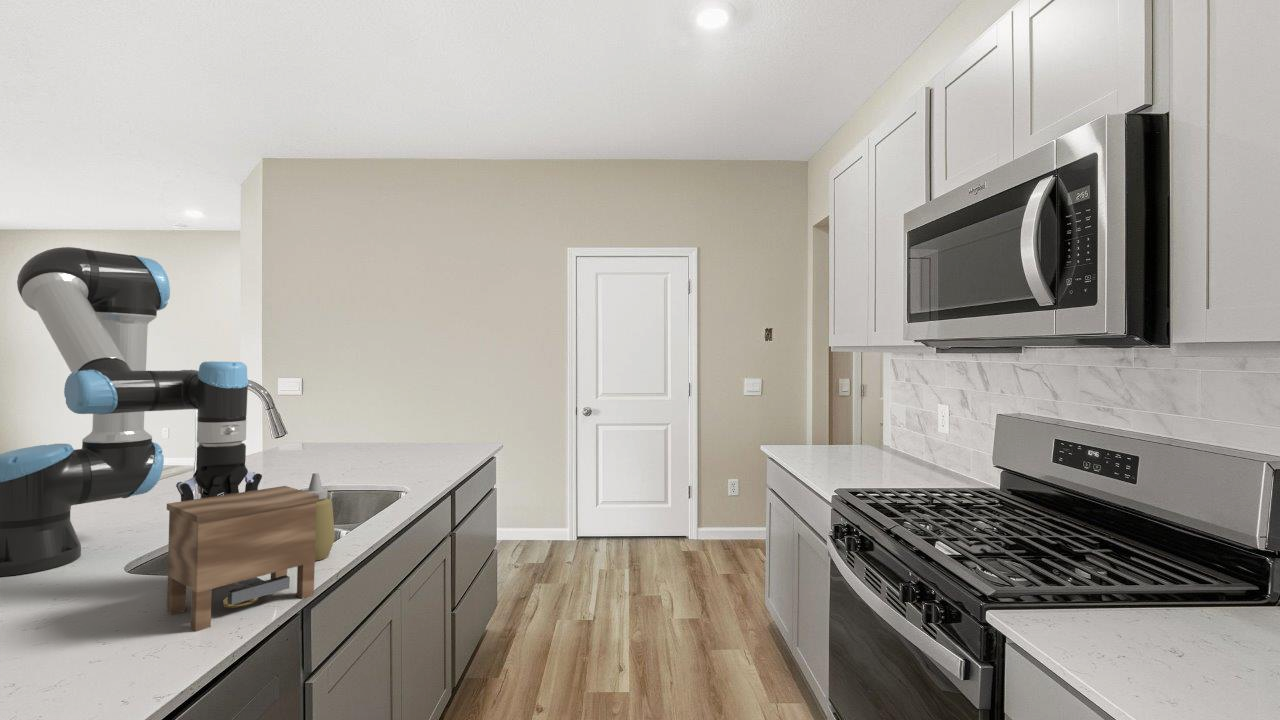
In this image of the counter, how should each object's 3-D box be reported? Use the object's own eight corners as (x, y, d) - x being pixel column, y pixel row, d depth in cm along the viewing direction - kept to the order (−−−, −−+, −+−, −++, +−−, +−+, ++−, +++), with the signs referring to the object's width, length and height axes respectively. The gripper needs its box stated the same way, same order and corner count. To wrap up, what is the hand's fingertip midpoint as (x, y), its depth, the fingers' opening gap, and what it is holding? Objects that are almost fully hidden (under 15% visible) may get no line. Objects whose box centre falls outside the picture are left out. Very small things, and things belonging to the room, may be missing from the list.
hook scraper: (187, 579, 107) (188, 519, 107) (242, 565, 115) (243, 509, 115) (231, 604, 97) (233, 538, 97) (289, 588, 104) (290, 526, 104)
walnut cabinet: (163, 611, 98) (166, 503, 98) (282, 579, 113) (285, 485, 113) (194, 632, 91) (197, 516, 91) (316, 594, 106) (318, 495, 106)
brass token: (217, 604, 102) (218, 599, 102) (249, 595, 106) (249, 590, 106) (231, 612, 99) (231, 606, 99) (263, 602, 103) (263, 596, 103)
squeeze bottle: (315, 565, 121) (318, 478, 121) (282, 562, 123) (284, 476, 123) (343, 553, 129) (345, 471, 129) (311, 550, 130) (313, 469, 131)
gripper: (176, 450, 101) (172, 586, 101) (278, 440, 115) (275, 560, 115) (160, 446, 106) (156, 576, 105) (261, 437, 119) (258, 553, 119)
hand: (218, 568), depth 110 cm, fingers closed on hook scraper, 3 cm apart
